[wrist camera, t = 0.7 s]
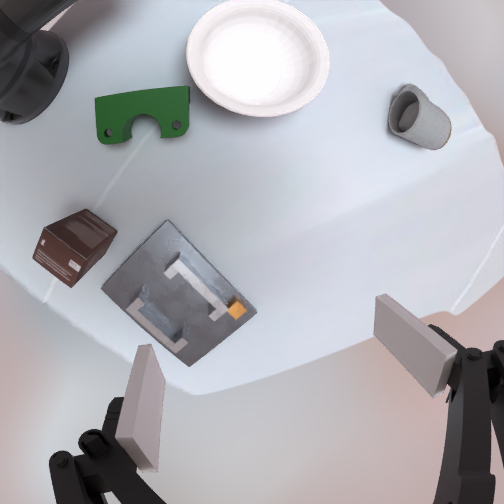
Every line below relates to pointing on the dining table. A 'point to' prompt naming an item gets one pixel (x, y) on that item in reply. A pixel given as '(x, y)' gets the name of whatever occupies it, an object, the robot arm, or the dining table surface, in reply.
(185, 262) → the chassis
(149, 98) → the clamp
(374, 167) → the dining table surface
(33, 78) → the robot arm
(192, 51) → the bowl
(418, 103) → the ceramic mug
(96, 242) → the box
